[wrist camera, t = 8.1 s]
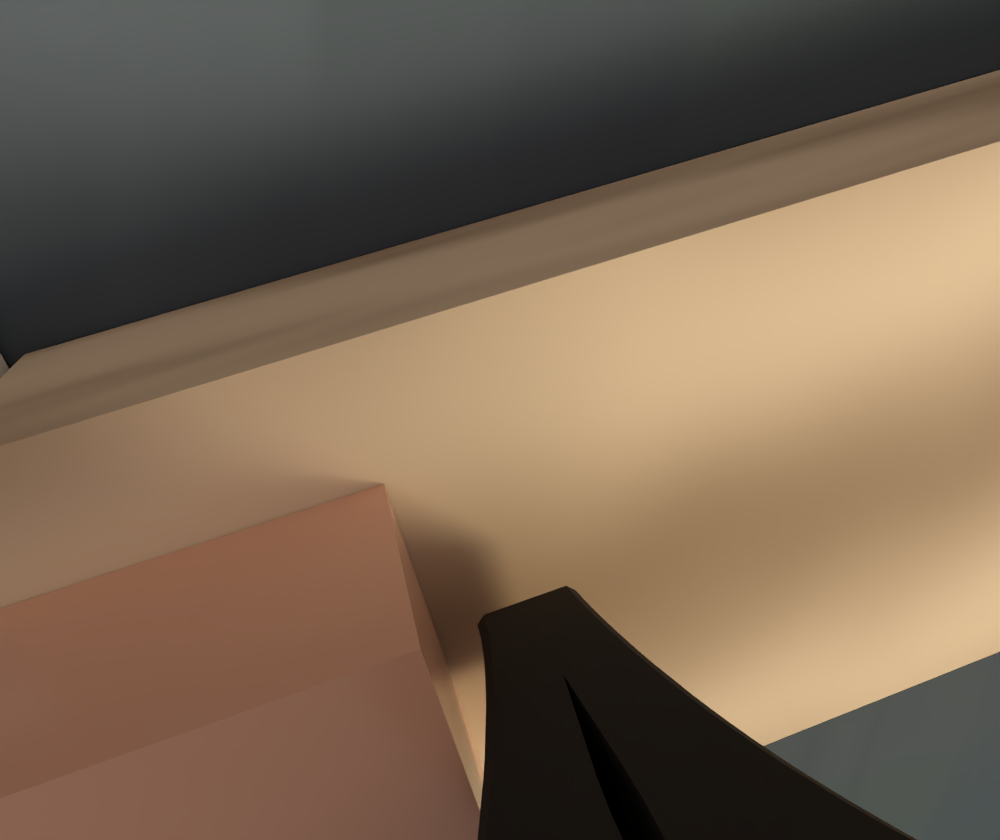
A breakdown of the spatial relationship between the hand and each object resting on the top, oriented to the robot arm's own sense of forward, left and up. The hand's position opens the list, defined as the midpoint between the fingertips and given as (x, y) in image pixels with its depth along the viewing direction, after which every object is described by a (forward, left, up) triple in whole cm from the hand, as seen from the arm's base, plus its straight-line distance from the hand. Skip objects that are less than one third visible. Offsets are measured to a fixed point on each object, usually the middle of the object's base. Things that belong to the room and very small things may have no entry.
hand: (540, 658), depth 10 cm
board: (0, -6, -5) cm, 8 cm away
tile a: (0, +4, -1) cm, 4 cm away
